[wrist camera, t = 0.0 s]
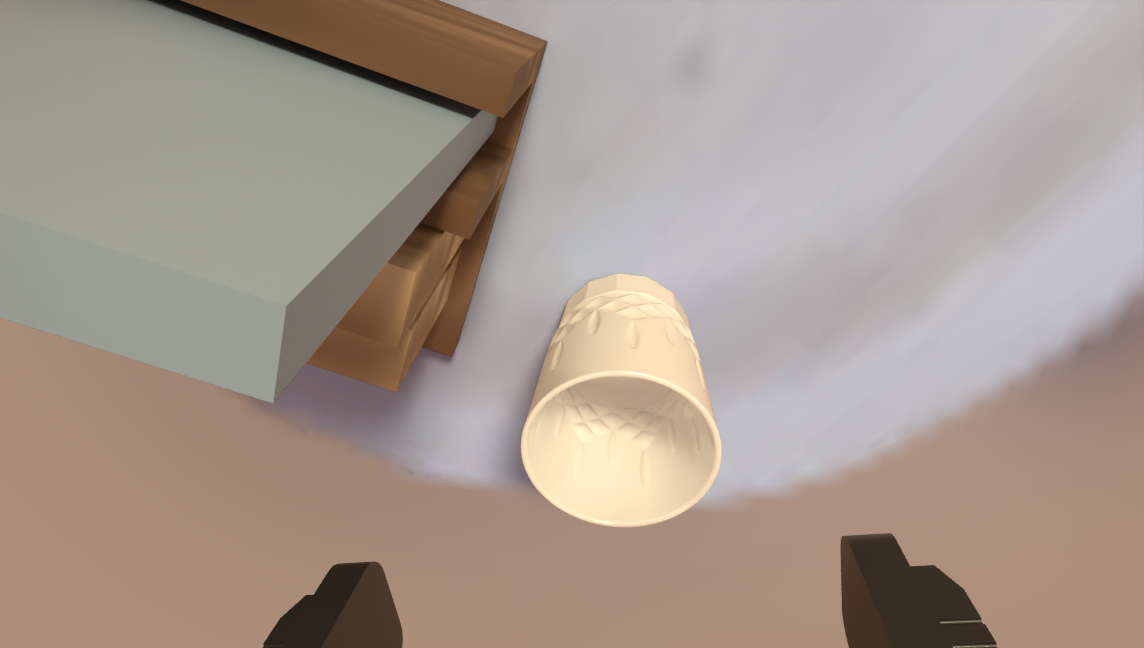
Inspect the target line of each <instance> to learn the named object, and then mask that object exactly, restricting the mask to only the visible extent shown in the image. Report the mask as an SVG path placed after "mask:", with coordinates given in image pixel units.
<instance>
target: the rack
mask: <svg viewBox="0 0 1144 648" xmlns="http://www.w3.org/2000/svg"><path fill="white" fill-rule="evenodd" d="M181 1H184V2H187V3H189V4H192V5H195V6H198V7H200V8H203V9H206V10H208V11H211V12H214V13H217V14H219V15H222V16H225V17H228V18H230V19H233V20H236V21H239V22H241V23H244V24H247V25H250V26H252V27H255V28H258V29H261V30H263V31H266V32H269V33H272V34H274V35H277V36H280V37H283V38H285V39H288V40H291V41H294V42H296V43H299V44H302V45H304V46H307V47H310V48H313V49H315V50H318V51H321V52H324V53H326V54H329V55H332V56H335V57H337V58H340V59H343V60H346V61H348V62H351V63H354V64H357V65H359V66H362V67H365V68H368V69H370V70H373V71H376V72H379V73H381V74H384V75H387V76H390V77H392V78H395V79H398V80H400V81H403V82H406V83H409V84H411V85H414V86H417V87H420V88H422V89H425V90H428V91H431V92H433V93H436V94H439V95H442V96H444V97H447V98H450V99H453V100H455V101H458V102H461V103H464V104H466V105H469V106H472V107H475V108H477V109H480V110H483V111H486V112H488V113H491V114H494V115H496V116H498V117H497V121H496V125H495V128H494V131H493V133H492V134H491V135H490V136H489V138H488V139H487V140H486V141H485V143H484V144H483V145H482V146H481V148H480V149H479V150H478V151H477V152H476V154H475V155H474V156H473V157H472V159H471V160H470V161H469V162H468V164H467V165H466V166H465V167H464V169H463V170H462V171H461V172H460V173H459V175H458V176H457V177H456V178H455V180H454V181H453V182H452V183H451V185H450V186H449V187H448V188H447V190H446V191H445V192H444V193H443V194H442V196H441V197H440V198H439V199H438V201H437V202H436V203H435V204H434V206H433V207H432V208H431V209H430V211H429V212H428V213H427V214H426V215H425V217H424V218H423V219H422V220H421V222H420V223H423V224H426V225H429V226H432V227H434V228H437V229H440V230H443V231H446V232H449V233H452V234H455V235H458V236H460V237H463V238H464V239H463V241H462V243H461V244H460V246H459V247H462V248H461V252H460V255H459V259H458V263H457V266H456V270H455V273H454V277H453V281H452V284H451V288H450V292H449V295H448V299H447V301H446V303H445V305H444V307H443V309H442V310H441V312H440V314H439V316H438V318H437V319H436V321H435V323H434V325H433V327H432V329H431V330H430V332H429V334H428V336H427V338H426V340H425V341H424V343H423V345H422V347H423V348H426V349H429V350H432V351H435V352H439V353H442V354H445V355H448V356H451V357H452V355H453V353H454V350H455V348H456V346H457V344H458V341H459V338H460V335H461V331H462V328H463V325H464V321H465V318H466V314H467V311H468V308H469V304H470V301H471V298H472V294H473V291H474V287H475V284H476V281H477V277H478V274H479V271H480V267H481V264H482V260H483V257H484V254H485V250H486V247H487V244H488V240H489V237H490V233H491V230H492V227H493V223H494V220H495V217H496V213H497V210H498V206H499V203H500V200H501V196H502V193H503V190H504V186H505V183H506V179H507V176H508V173H509V169H510V166H511V163H512V159H513V156H514V152H515V149H516V146H517V142H518V139H519V136H520V132H521V129H522V125H523V122H524V119H525V115H526V112H527V109H528V105H529V102H530V99H531V95H532V92H533V88H534V85H535V82H536V78H537V75H538V72H539V68H540V65H541V61H542V58H543V55H544V51H545V48H546V45H547V41H545V40H542V39H540V38H537V37H534V36H532V35H529V34H526V33H524V32H521V31H518V30H516V29H513V28H511V27H508V26H505V25H503V24H500V23H497V22H495V21H492V20H489V19H487V18H484V17H481V16H479V15H476V14H473V13H471V12H468V11H466V10H463V9H460V8H458V7H455V6H452V5H450V4H447V3H444V2H442V1H439V0H181Z"/></svg>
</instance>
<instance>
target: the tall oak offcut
mask: <svg viewBox="0 0 1144 648" xmlns="http://www.w3.org/2000/svg"><path fill="white" fill-rule="evenodd" d="M463 239H464V238H463V237H460V236H458V235H455V234H452V233H449V232H446V231H443V230H440V229H437V228H434V227H432V226H429V225H426V224H423V223H419V224H418V225H417V227H416V228H415V229H414V230H413V232H412V233H411V234H410V235H409V236H408V238H407V239H406V240H405V241H404V243H403V244H402V245H401V246H400V248H399V249H398V250H397V251H396V253H395V254H394V255H393V256H392V257H391V259H390V260H389V261H388V262H387V264H386V265H385V266H384V267H383V269H382V270H381V271H380V272H379V274H378V275H377V276H376V277H375V278H374V280H373V281H372V282H371V283H370V285H369V286H368V287H367V288H366V290H365V291H364V292H363V293H362V295H361V296H360V297H359V298H358V299H357V301H356V302H355V303H354V304H353V306H352V307H351V308H350V309H349V311H348V312H347V313H346V314H345V316H344V317H343V318H342V319H341V320H340V322H339V323H338V324H337V325H336V327H337V328H340V329H343V330H346V331H349V332H352V333H355V334H358V335H361V336H364V337H367V338H370V339H373V340H376V341H380V342H383V343H386V344H389V345H392V346H395V347H399V345H400V343H401V342H402V340H403V338H404V337H405V335H406V334H407V332H408V330H409V329H410V327H411V325H412V324H413V322H414V320H415V319H416V317H417V315H418V314H419V312H420V310H421V309H422V307H423V305H424V304H425V302H426V301H427V299H428V297H429V296H430V294H431V292H432V291H433V289H434V287H435V286H436V284H437V282H438V281H439V279H440V277H441V276H442V274H443V272H444V271H445V269H446V268H447V266H448V264H449V263H450V261H451V259H452V258H453V256H454V254H455V253H456V251H457V249H458V248H459V246H460V244H461V243H462V241H463Z"/></svg>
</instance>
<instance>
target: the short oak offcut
mask: <svg viewBox="0 0 1144 648" xmlns="http://www.w3.org/2000/svg"><path fill="white" fill-rule="evenodd" d="M461 248H462V247H459V248H458V249H457V251H456V253H455V254H454V256H453V258H452V259H451V261H450V263H449V264H448V266H447V268H446V269H445V271H444V272H443V274H442V276H441V277H440V279H439V281H438V282H437V284H436V286H435V287H434V289H433V291H432V292H431V294H430V296H429V297H428V299H427V301H426V302H425V304H424V305H423V307H422V309H421V310H420V312H419V314H418V315H417V317H416V319H415V320H414V322H413V324H412V325H411V327H410V329H409V330H408V332H407V334H406V335H405V337H404V338H403V340H402V342H401V343H400V345H399V347H395V346H392V345H389V344H386V343H383V342H380V341H376V340H373V339H370V338H367V337H364V336H361V335H358V334H355V333H352V332H349V331H346V330H343V329H340V328H337V327H335V328H334V329H333V330H332V332H331V333H330V334H329V335H328V337H327V338H326V339H325V340H324V341H323V343H322V344H321V345H320V346H319V348H318V349H317V350H316V351H315V353H314V354H313V355H312V356H311V358H310V359H309V360H308V361H307V362H306V363H307V364H311V365H314V366H317V367H320V368H323V369H326V370H329V371H332V372H335V373H339V374H342V375H345V376H348V377H351V378H354V379H357V380H360V381H364V382H367V383H370V384H373V385H376V386H379V387H382V388H385V389H388V390H392V391H395V392H397V391H398V389H399V387H400V385H401V383H402V382H403V380H404V378H405V376H406V374H407V373H408V371H409V369H410V367H411V365H412V363H413V362H414V360H415V358H416V356H417V354H418V352H419V351H420V349H421V347H422V345H423V343H424V341H425V340H426V338H427V336H428V334H429V332H430V330H431V329H432V327H433V325H434V323H435V321H436V319H437V318H438V316H439V314H440V312H441V310H442V309H443V307H444V305H445V303H446V301H447V299H448V295H449V292H450V288H451V284H452V281H453V277H454V273H455V270H456V266H457V263H458V259H459V255H460V252H461Z"/></svg>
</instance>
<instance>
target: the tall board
mask: <svg viewBox="0 0 1144 648" xmlns="http://www.w3.org/2000/svg"><path fill="white" fill-rule="evenodd" d="M497 117H498V116H496V115H494V114H491V113H488V112H486V111H483V110H480V109H477V108H475V107H472V106H469V105H466V104H464V103H461V102H458V101H455V100H453V99H450V98H447V97H444V96H442V95H439V94H436V93H433V92H431V91H428V90H425V89H422V88H420V87H417V86H414V85H411V84H409V83H406V82H403V81H400V80H398V79H395V78H392V77H390V76H387V75H384V74H381V73H379V72H376V71H373V70H370V69H368V68H365V67H362V66H359V65H357V64H354V63H351V62H348V61H346V60H343V59H340V58H337V57H335V56H332V55H329V54H326V53H324V52H321V51H318V50H315V49H313V48H310V47H307V46H304V45H302V44H299V43H296V42H294V41H291V40H288V39H285V38H283V37H280V36H277V35H274V34H272V33H269V32H266V31H263V30H261V29H258V28H255V27H252V26H250V25H247V24H244V23H241V22H239V21H236V20H233V19H230V18H228V17H225V16H222V15H219V14H217V13H214V12H211V11H208V10H206V9H203V8H200V7H198V6H195V5H192V4H189V3H187V2H184V1H181V0H0V318H3V319H6V320H9V321H12V322H15V323H18V324H22V325H25V326H28V327H31V328H35V329H37V330H41V331H44V332H47V333H50V334H54V335H57V336H60V337H63V338H66V339H69V340H72V341H76V342H79V343H82V344H85V345H88V346H92V347H95V348H98V349H101V350H105V351H108V352H111V353H114V354H117V355H120V356H124V357H127V358H130V359H133V360H136V361H140V362H143V363H146V364H149V365H152V366H155V367H159V368H162V369H165V370H168V371H171V372H174V373H178V374H181V375H184V376H187V377H190V378H193V379H197V380H200V381H203V382H206V383H210V384H213V385H216V386H219V387H222V388H225V389H228V390H232V391H235V392H238V393H241V394H244V395H248V396H251V397H254V398H257V399H260V400H264V401H267V402H270V403H274V402H275V401H276V400H277V398H278V397H279V396H280V395H281V393H282V392H283V391H284V390H285V388H286V387H287V386H288V385H289V383H290V382H291V381H292V380H293V379H294V377H295V376H296V375H297V374H298V372H299V371H300V370H301V369H302V367H303V366H304V365H305V364H306V362H307V361H308V360H309V359H310V358H311V356H312V355H313V354H314V353H315V351H316V350H317V349H318V348H319V346H320V345H321V344H322V343H323V341H324V340H325V339H326V338H327V337H328V335H329V334H330V333H331V332H332V330H333V329H334V328H335V327H336V325H337V324H338V323H339V322H340V320H341V319H342V318H343V317H344V316H345V314H346V313H347V312H348V311H349V309H350V308H351V307H352V306H353V304H354V303H355V302H356V301H357V299H358V298H359V297H360V296H361V295H362V293H363V292H364V291H365V290H366V288H367V287H368V286H369V285H370V283H371V282H372V281H373V280H374V278H375V277H376V276H377V275H378V274H379V272H380V271H381V270H382V269H383V267H384V266H385V265H386V264H387V262H388V261H389V260H390V259H391V257H392V256H393V255H394V254H395V253H396V251H397V250H398V249H399V248H400V246H401V245H402V244H403V243H404V241H405V240H406V239H407V238H408V236H409V235H410V234H411V233H412V232H413V230H414V229H415V228H416V227H417V225H418V224H419V223H420V222H421V220H422V219H423V218H424V217H425V215H426V214H427V213H428V212H429V211H430V209H431V208H432V207H433V206H434V204H435V203H436V202H437V201H438V199H439V198H440V197H441V196H442V194H443V193H444V192H445V191H446V190H447V188H448V187H449V186H450V185H451V183H452V182H453V181H454V180H455V178H456V177H457V176H458V175H459V173H460V172H461V171H462V170H463V169H464V167H465V166H466V165H467V164H468V162H469V161H470V160H471V159H472V157H473V156H474V155H475V154H476V152H477V151H478V150H479V149H480V148H481V146H482V145H483V144H484V143H485V141H486V140H487V139H488V138H489V136H490V135H491V134H492V133H493V131H494V128H495V125H496V121H497Z"/></svg>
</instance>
